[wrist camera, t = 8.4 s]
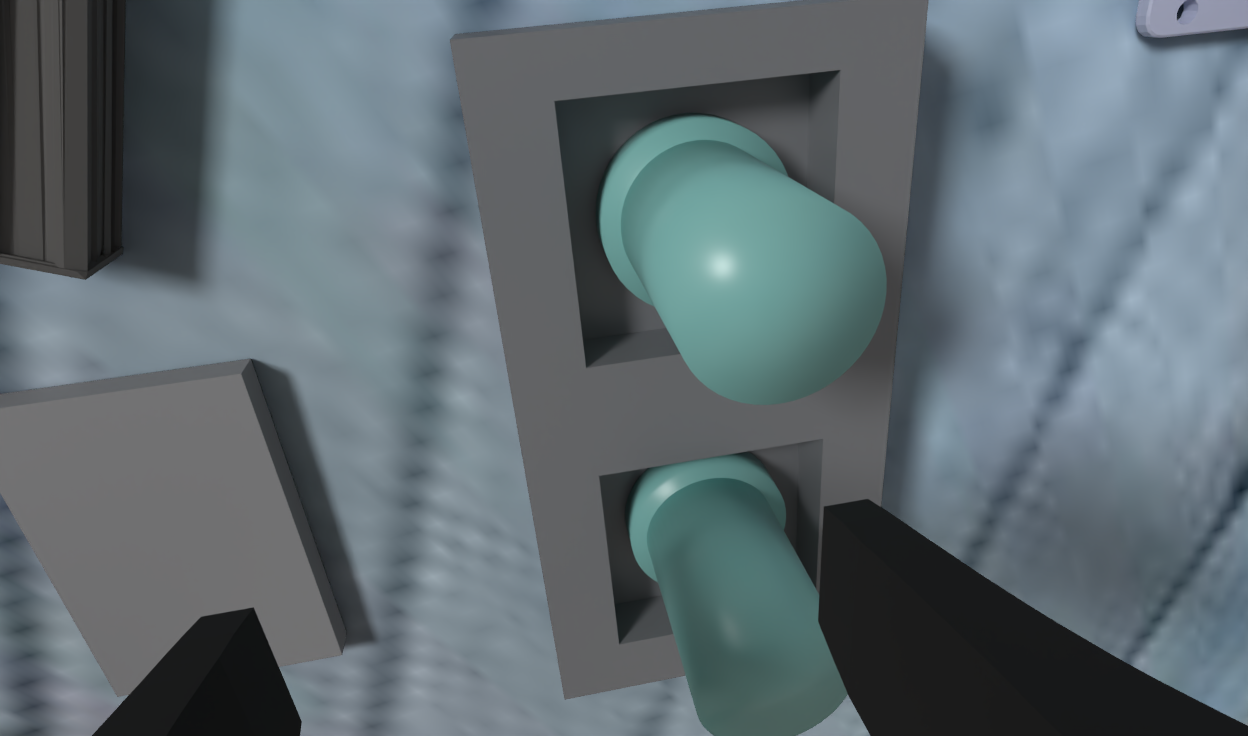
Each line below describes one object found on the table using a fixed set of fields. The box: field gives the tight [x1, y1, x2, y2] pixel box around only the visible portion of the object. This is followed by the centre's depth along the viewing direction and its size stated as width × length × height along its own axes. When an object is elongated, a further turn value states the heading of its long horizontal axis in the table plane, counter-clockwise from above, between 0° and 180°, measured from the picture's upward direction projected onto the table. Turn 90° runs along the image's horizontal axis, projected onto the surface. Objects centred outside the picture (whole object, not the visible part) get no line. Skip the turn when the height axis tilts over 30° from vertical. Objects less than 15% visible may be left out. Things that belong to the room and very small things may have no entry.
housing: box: [450, 0, 928, 699], centre depth 19 cm, size 9×17×2 cm, turn 5°
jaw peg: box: [625, 451, 848, 736], centre depth 18 cm, size 4×4×6 cm
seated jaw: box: [595, 112, 887, 405], centre depth 14 cm, size 4×4×6 cm
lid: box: [0, 359, 347, 697], centre depth 19 cm, size 6×9×1 cm, turn 5°
